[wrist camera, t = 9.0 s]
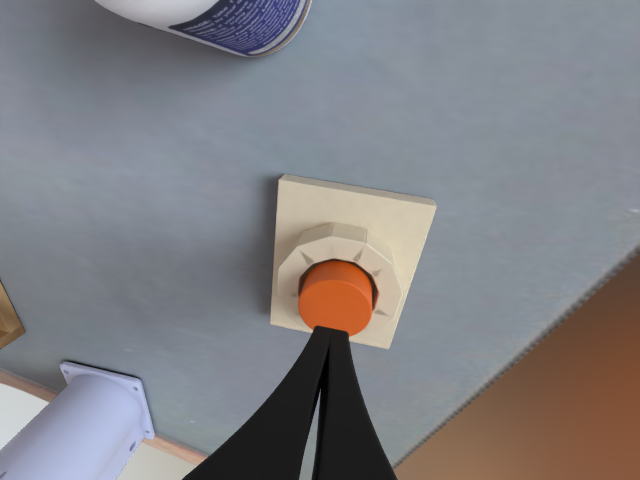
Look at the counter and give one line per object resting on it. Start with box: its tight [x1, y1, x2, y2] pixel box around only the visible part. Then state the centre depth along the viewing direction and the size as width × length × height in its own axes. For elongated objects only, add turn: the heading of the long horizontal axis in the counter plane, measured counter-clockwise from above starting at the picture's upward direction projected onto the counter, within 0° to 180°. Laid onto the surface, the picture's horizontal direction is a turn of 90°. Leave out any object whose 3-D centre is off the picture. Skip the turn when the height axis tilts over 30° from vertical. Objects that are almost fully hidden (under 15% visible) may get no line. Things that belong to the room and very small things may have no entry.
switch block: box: [270, 174, 437, 349], centre depth 16 cm, size 10×8×3 cm
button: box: [298, 261, 372, 337], centre depth 15 cm, size 4×4×2 cm
